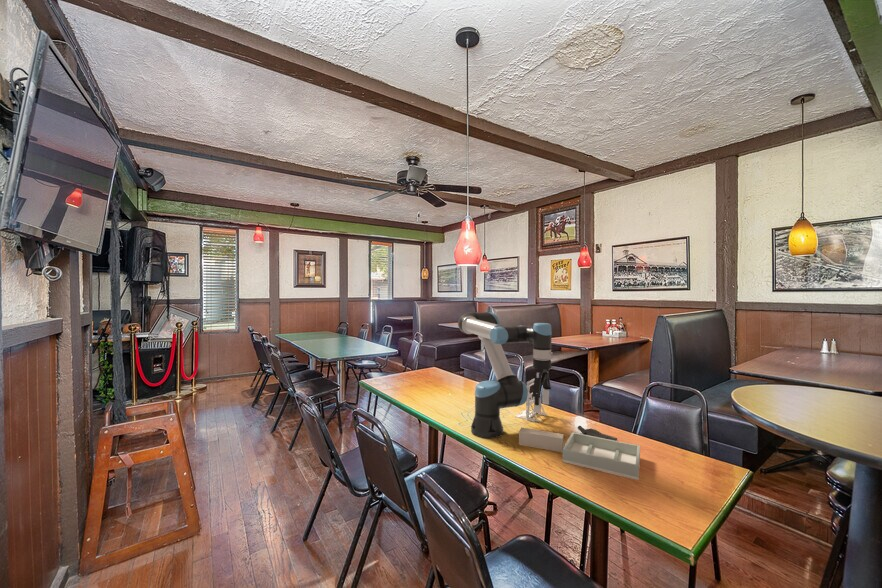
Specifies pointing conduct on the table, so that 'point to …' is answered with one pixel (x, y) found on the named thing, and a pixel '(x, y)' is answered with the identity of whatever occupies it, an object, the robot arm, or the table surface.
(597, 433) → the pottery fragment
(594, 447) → the divided grey tray
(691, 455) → the table surface
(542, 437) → the beige rectangular block
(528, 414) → the film strip holder
